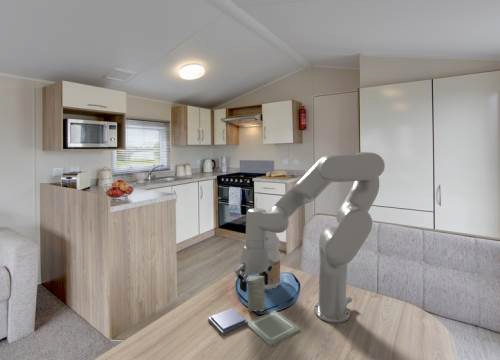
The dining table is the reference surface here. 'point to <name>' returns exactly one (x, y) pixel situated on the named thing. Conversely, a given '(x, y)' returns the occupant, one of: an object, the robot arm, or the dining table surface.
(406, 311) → the dining table surface
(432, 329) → the dining table surface
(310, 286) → the dining table surface
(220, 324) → the ink pad
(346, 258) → the robot arm
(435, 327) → the dining table surface
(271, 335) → the marked board
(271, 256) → the fruit juice
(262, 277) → the skincare box
